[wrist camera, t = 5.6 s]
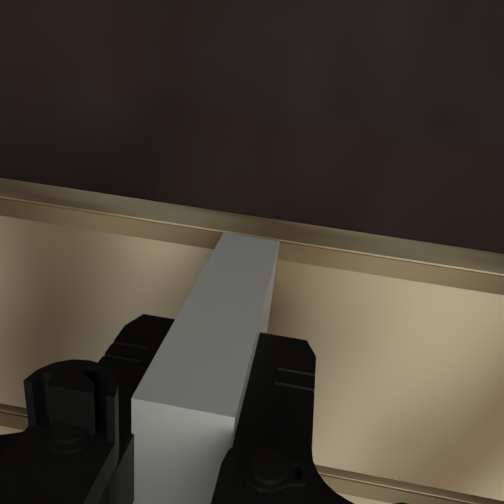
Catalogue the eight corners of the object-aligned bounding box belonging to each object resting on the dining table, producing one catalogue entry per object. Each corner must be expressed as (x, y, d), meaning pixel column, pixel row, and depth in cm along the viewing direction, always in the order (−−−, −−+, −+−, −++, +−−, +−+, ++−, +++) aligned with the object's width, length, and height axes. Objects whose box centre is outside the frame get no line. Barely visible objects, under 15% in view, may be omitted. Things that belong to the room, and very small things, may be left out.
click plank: (-34, 364, 18) (-65, 392, 17) (-65, 167, 15) (-106, 180, 14) (520, 469, 16) (539, 509, 15) (610, 269, 13) (644, 296, 12)
